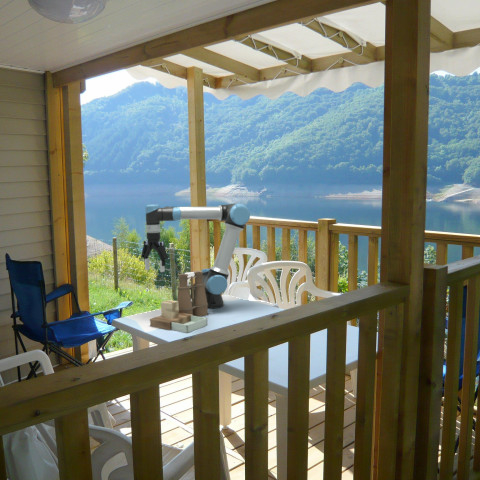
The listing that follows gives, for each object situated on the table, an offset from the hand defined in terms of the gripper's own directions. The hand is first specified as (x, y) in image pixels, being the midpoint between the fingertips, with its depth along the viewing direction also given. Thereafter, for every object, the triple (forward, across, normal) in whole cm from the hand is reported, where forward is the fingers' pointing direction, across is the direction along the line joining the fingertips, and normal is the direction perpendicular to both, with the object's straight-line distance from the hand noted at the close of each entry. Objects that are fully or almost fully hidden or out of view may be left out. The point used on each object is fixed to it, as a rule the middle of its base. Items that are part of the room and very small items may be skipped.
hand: (154, 270), depth 284 cm
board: (+26, +19, -8) cm, 33 cm away
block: (+22, +18, -8) cm, 30 cm away
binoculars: (+27, +18, +10) cm, 34 cm away
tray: (+26, +32, -8) cm, 42 cm away
